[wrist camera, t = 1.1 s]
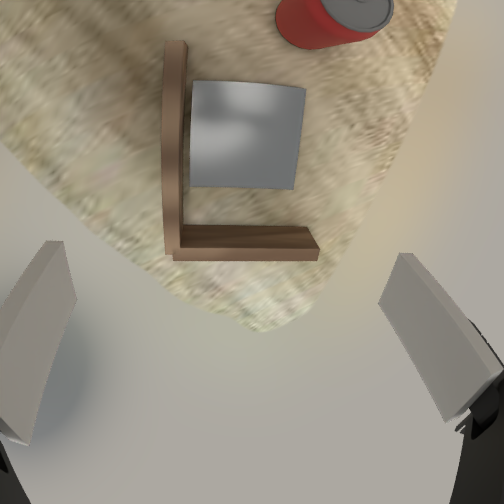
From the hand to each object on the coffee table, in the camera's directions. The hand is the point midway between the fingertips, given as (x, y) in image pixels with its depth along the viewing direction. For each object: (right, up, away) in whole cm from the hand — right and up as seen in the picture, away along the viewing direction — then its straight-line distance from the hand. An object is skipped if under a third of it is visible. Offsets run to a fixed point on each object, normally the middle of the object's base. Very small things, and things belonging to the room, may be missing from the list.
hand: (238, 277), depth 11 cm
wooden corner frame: (0, +12, +19) cm, 22 cm away
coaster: (0, +13, +18) cm, 22 cm away
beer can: (+6, +24, +13) cm, 28 cm away
